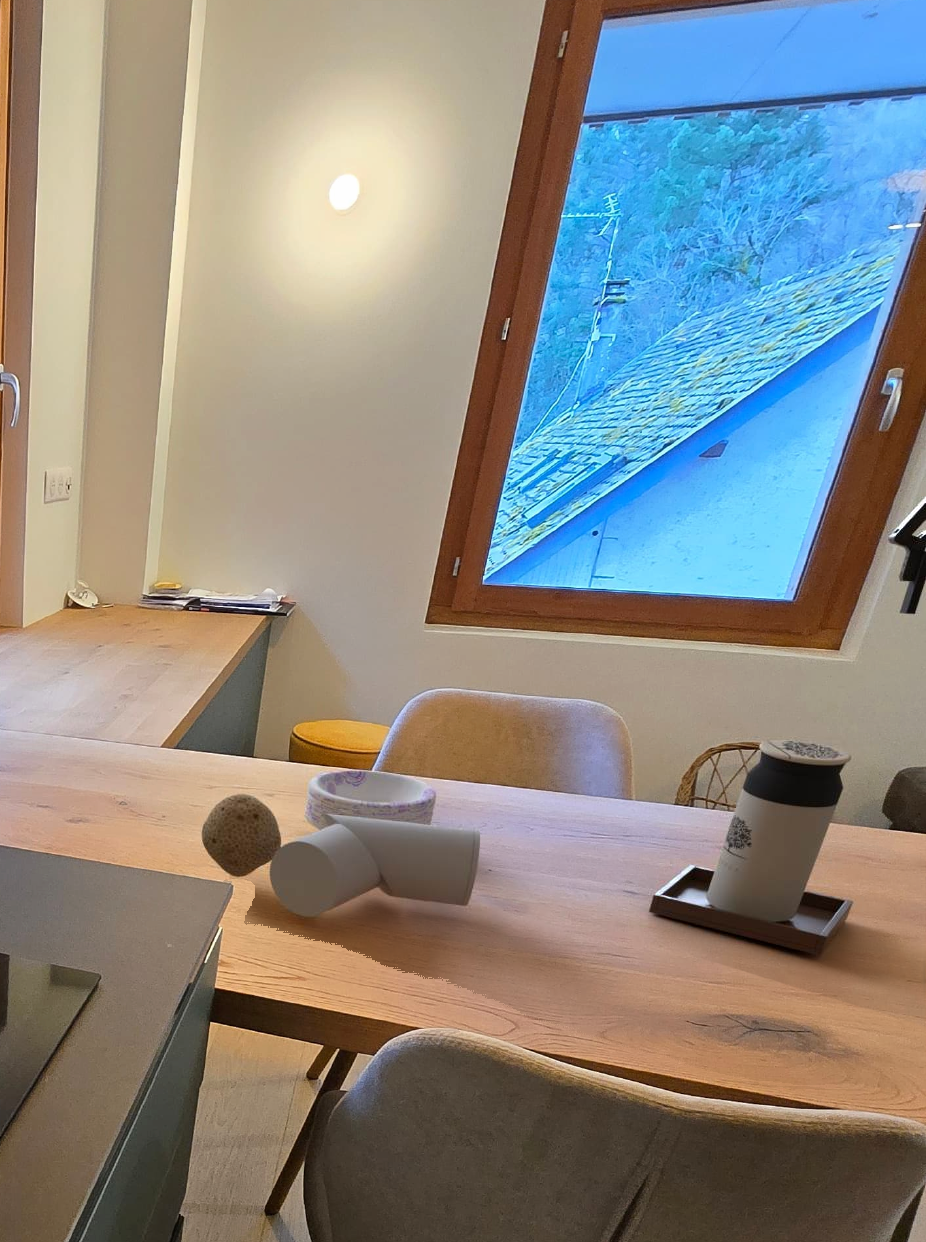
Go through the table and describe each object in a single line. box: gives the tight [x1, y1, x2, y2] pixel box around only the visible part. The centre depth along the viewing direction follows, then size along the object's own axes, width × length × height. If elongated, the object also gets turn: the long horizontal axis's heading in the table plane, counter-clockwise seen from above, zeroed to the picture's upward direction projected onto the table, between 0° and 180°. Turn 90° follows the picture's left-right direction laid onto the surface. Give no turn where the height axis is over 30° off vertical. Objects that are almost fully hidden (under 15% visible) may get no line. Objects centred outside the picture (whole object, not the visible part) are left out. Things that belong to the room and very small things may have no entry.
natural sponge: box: [201, 793, 282, 878], centre depth 123 cm, size 9×9×10 cm
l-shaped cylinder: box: [269, 814, 481, 918], centre depth 115 cm, size 18×10×20 cm
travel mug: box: [706, 739, 852, 922], centre depth 110 cm, size 8×8×18 cm
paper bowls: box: [304, 769, 437, 831], centre depth 134 cm, size 15×15×8 cm
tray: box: [648, 864, 854, 956], centre depth 114 cm, size 15×14×2 cm
